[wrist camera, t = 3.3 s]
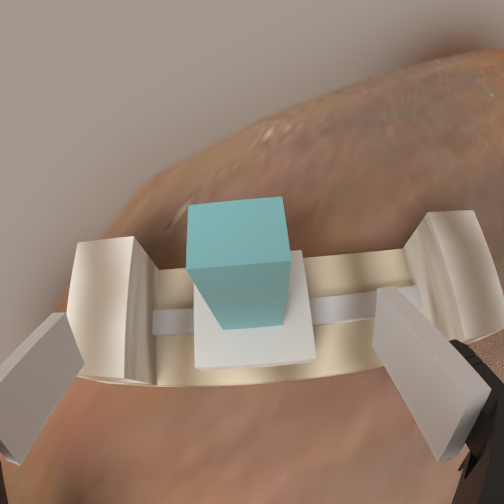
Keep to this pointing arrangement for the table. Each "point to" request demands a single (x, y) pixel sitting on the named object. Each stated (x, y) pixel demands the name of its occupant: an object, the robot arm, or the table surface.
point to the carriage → (247, 287)
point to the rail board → (320, 298)
